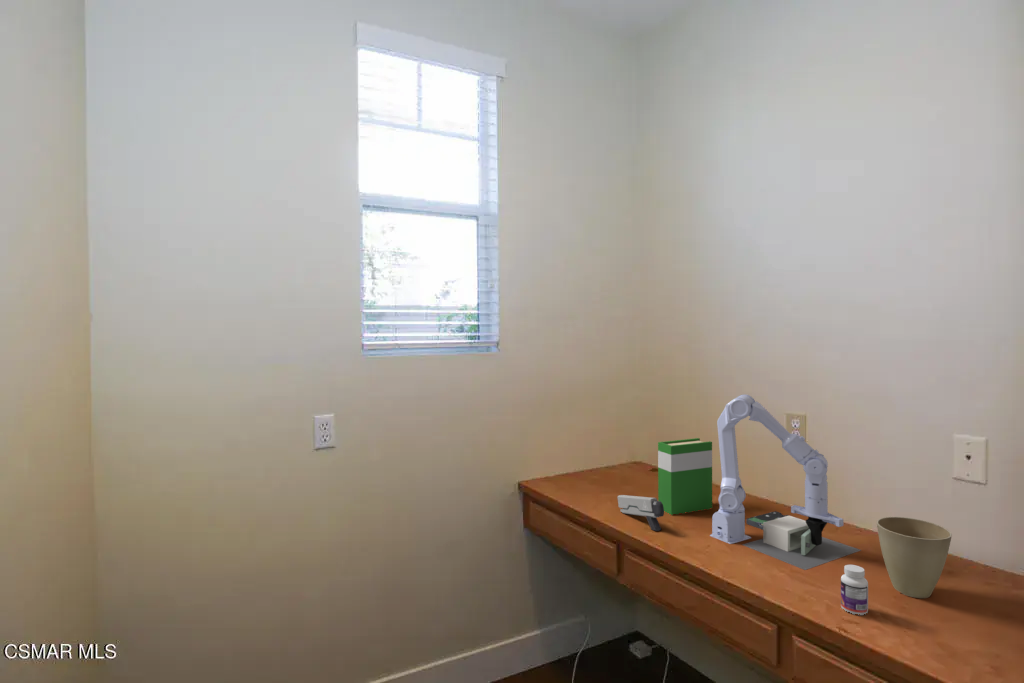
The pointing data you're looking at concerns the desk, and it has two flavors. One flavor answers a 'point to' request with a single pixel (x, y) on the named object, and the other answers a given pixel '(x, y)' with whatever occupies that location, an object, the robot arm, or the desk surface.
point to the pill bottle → (854, 590)
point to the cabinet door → (806, 542)
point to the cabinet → (784, 532)
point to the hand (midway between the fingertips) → (816, 544)
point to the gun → (642, 508)
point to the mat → (813, 558)
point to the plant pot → (913, 553)
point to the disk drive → (763, 519)
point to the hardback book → (685, 475)
